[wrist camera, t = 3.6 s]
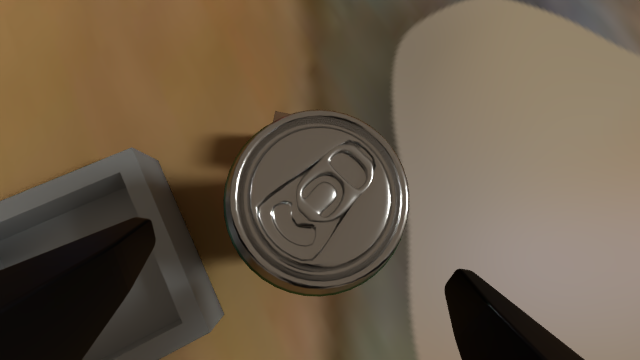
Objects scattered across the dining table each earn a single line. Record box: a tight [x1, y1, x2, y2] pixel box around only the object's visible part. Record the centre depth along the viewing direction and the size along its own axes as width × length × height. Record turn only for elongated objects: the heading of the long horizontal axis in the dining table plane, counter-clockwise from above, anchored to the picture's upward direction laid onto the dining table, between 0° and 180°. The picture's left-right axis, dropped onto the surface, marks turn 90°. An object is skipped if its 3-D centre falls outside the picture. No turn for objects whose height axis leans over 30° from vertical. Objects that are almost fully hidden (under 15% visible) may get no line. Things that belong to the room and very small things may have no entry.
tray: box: [0, 148, 224, 360], centre depth 15 cm, size 10×10×3 cm
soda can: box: [223, 110, 409, 296], centre depth 13 cm, size 5×5×12 cm
